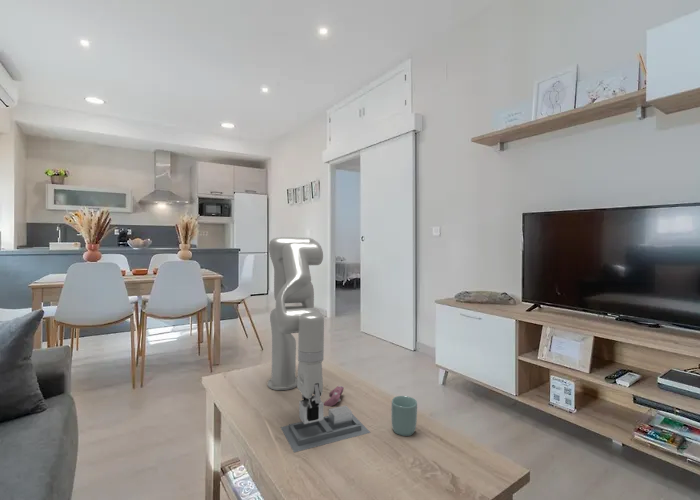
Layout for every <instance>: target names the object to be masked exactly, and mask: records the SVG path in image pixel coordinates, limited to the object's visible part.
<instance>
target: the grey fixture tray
mask: <svg viewBox="0 0 700 500" xmlns="http://www.w3.org/2000/svg"><path fill="white" fill-rule="evenodd" d="M328 417H329V415H325V416H323V420H321V421H316V422H312V423H308V424H304V423H303V422H302V421H299V422H293V423H290V424H288V425H284V426H280V429H281V431H282V433H283V435H284V437H285V438H286V440H287V442H288V444H289V446H290V448H291V450H292V452H293V453H297V452H301V451H305V450H309V449H312V448H315V447H316V448H317V447H321V446H324V445H328V444H332V443H336V442H340V441H343V440H349V439H351V438H356V437H359V436H362V435H366V434H370V433H371V431H370V430H369V429H368V428H367V427H366V426H365V425H364V424H363V423H362V422H361V421H360V420H359V419H358V418H357V417H356V416H355V415H354V414H353V413H352V426H349V427H345V428H341V429H337V430H332V428H331V427H330V426H329V425H328Z"/></svg>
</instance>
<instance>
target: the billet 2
mask: <svg viewBox="0 0 700 500" xmlns="http://www.w3.org/2000/svg"><path fill="white" fill-rule="evenodd" d="M352 414H353V411H352V410H351V409H350V408H349V407H348V406H347V405H342V406H341V405H340V406H337V407H333V408H328V416H329V417H328V425H329V426H330V427H331V428H332V430H337V429H341V428H345V427H349V426H352Z"/></svg>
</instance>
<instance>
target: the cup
mask: <svg viewBox="0 0 700 500" xmlns="http://www.w3.org/2000/svg"><path fill="white" fill-rule="evenodd" d="M390 411H391V413H390V415H391V418H390V419H391V428H392V430H393V433H395V434H397V435H399V436H402V437H409V436H412V435H413V434H414V433H415V431H416V428H417V421H418V402H417V400H416V399H415V398H413V397H411V396H406V395H398V396H397V395H396V396H395V397H393V398H392V400H391V410H390Z"/></svg>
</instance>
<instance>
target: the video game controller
mask: <svg viewBox="0 0 700 500" xmlns="http://www.w3.org/2000/svg"><path fill="white" fill-rule="evenodd" d="M344 388H345V387H344V386H343V385H342V386H341V385H338V386H336V387H335V388H334V389H332V390H331V391H330V392H329V397H330V398H328V399H326V400H325V401H324V402H323V403H324V405H323V407H325V406H326V407H333V406H335V405H337V403H338V402H339V403H340V402H341V400H342V399H341V395H342V393H343V392H344V390H345V389H344Z"/></svg>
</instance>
